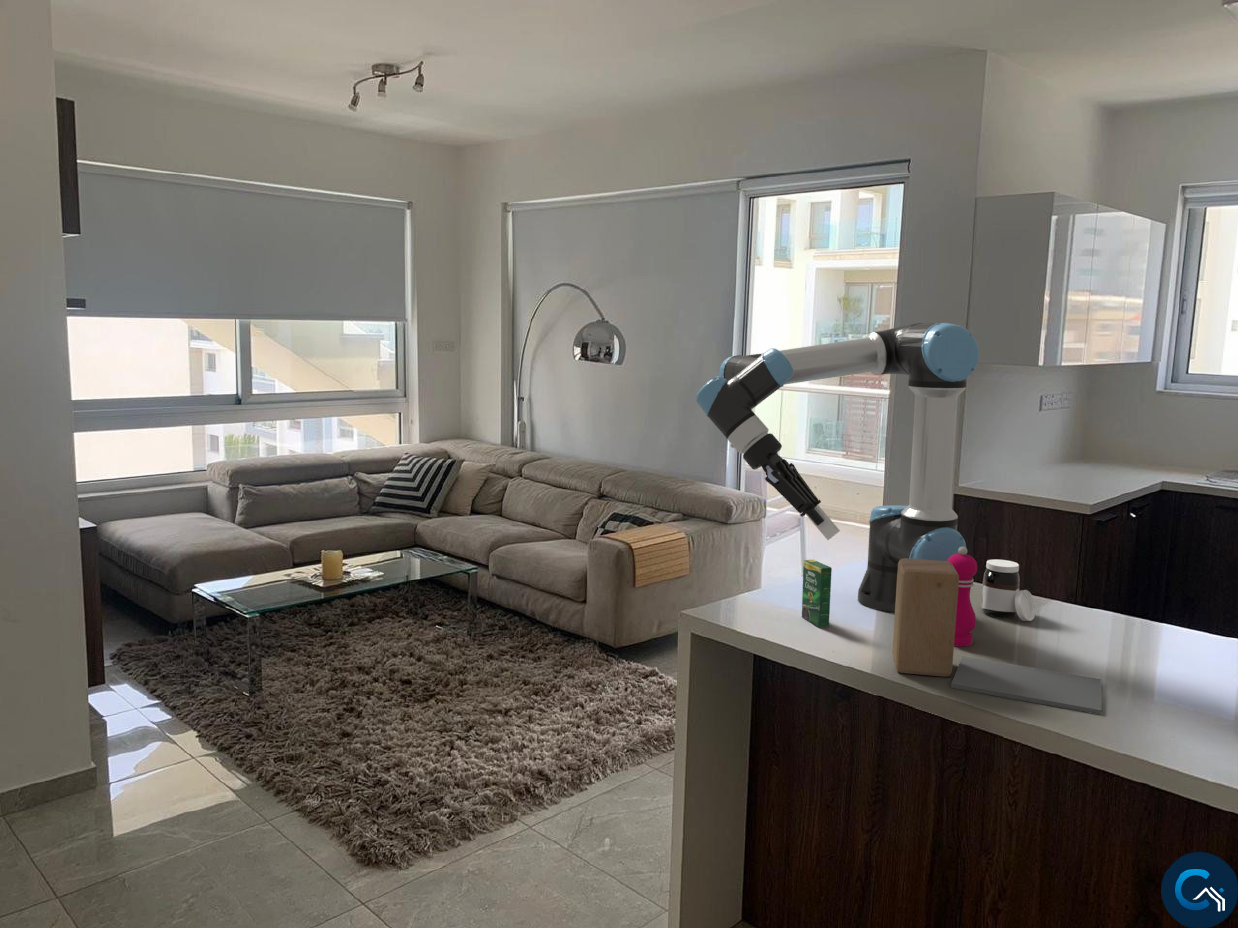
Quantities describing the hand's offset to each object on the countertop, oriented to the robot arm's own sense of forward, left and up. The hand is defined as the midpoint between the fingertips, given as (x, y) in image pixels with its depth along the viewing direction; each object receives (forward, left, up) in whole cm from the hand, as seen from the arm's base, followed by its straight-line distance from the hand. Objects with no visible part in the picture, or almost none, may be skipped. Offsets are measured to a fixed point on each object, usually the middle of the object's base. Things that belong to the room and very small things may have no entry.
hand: (833, 535), depth 182 cm
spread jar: (-44, +30, -24) cm, 58 cm away
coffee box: (-17, -7, -24) cm, 30 cm away
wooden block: (0, +18, -24) cm, 30 cm away
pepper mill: (-19, +22, -24) cm, 37 cm away
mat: (0, +36, -23) cm, 43 cm away
